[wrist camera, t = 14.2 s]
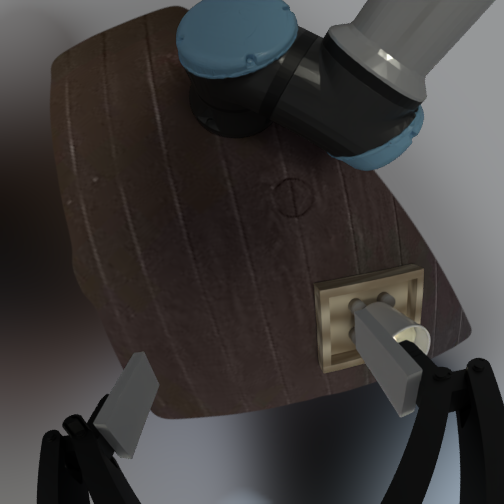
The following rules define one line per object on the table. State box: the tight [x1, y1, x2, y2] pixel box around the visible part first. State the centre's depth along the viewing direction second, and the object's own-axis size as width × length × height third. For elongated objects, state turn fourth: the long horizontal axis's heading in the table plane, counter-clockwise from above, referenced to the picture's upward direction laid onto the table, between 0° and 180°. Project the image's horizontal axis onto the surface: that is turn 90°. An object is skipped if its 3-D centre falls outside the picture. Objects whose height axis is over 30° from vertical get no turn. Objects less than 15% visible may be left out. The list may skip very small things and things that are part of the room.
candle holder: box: [364, 302, 430, 355], centre depth 40 cm, size 10×10×12 cm
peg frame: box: [314, 264, 424, 373], centre depth 47 cm, size 17×21×4 cm
